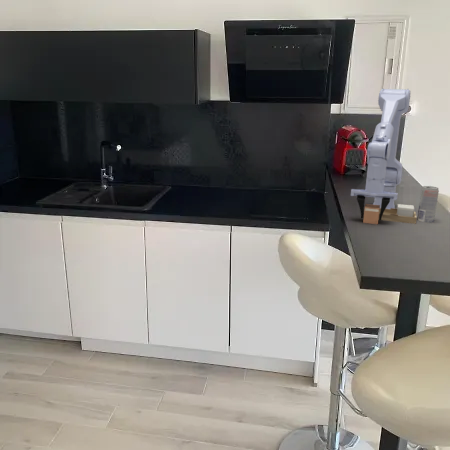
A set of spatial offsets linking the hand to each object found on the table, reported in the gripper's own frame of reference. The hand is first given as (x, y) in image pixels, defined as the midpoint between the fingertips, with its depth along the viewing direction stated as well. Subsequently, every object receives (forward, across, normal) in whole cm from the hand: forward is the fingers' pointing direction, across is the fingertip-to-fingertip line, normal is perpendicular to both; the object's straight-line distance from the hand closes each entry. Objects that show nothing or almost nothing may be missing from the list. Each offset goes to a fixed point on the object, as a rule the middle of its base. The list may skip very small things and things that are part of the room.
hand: (371, 218), depth 154 cm
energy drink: (+2, +18, +10) cm, 20 cm away
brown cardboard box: (+2, 0, 0) cm, 2 cm away
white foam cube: (+1, +11, +8) cm, 13 cm away
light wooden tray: (+2, +7, +8) cm, 11 cm away
